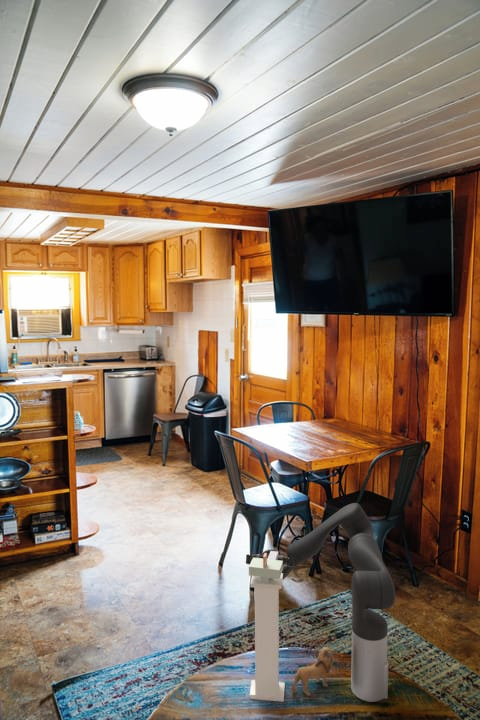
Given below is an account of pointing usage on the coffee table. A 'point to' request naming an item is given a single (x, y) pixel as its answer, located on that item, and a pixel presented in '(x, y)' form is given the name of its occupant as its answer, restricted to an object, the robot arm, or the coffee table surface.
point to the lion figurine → (314, 671)
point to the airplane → (266, 567)
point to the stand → (267, 641)
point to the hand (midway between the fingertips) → (268, 559)
